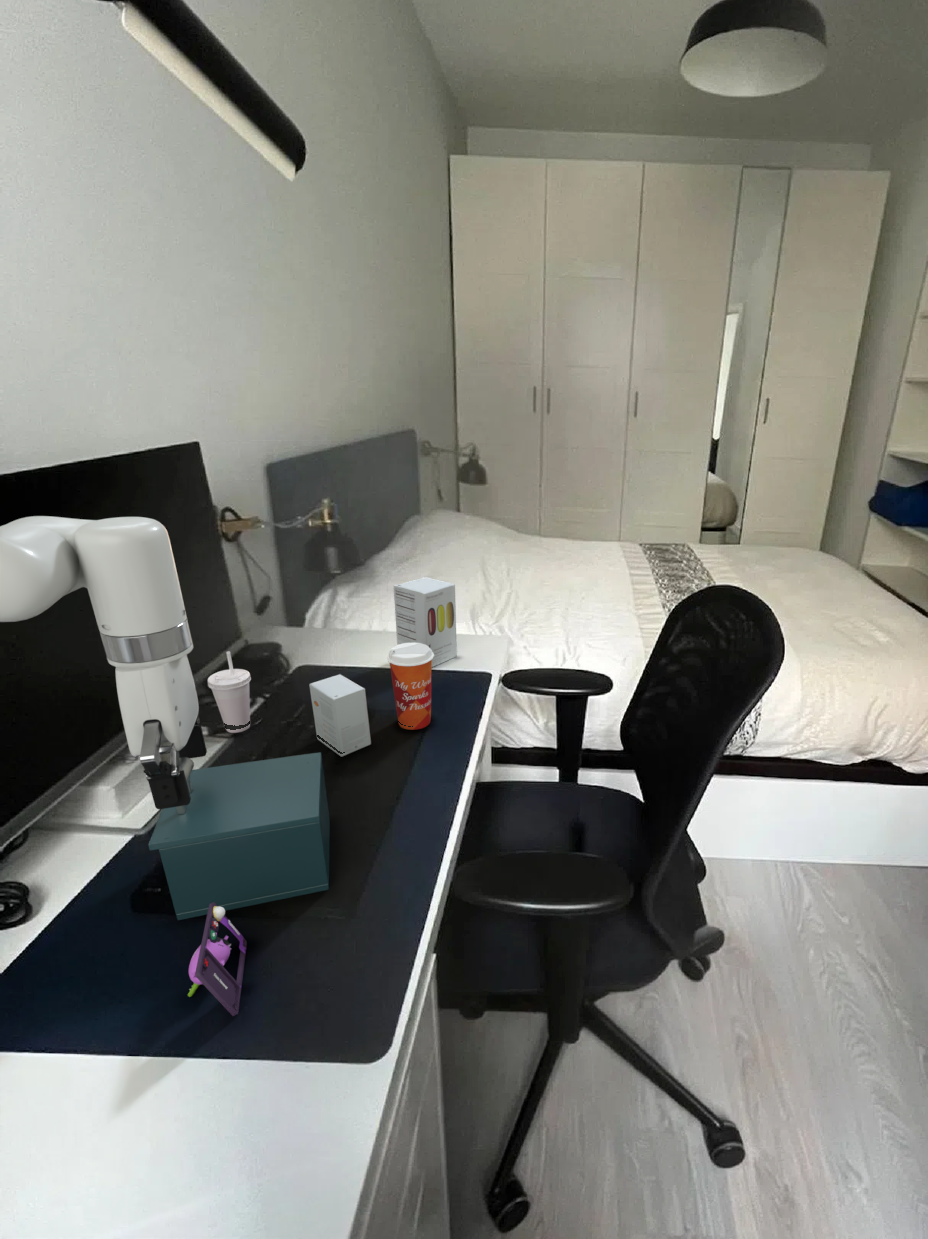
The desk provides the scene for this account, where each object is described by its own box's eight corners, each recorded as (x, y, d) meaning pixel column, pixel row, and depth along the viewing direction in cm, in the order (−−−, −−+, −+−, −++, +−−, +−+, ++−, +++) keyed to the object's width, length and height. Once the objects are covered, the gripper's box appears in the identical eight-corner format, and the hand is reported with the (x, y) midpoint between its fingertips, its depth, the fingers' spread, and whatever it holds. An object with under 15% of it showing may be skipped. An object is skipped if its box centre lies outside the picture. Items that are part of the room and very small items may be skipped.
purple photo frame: (207, 969, 57) (220, 897, 64) (148, 998, 56) (168, 922, 63) (245, 1011, 60) (254, 938, 68) (190, 1040, 59) (205, 962, 67)
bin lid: (149, 850, 66) (138, 809, 64) (178, 777, 78) (169, 740, 76) (319, 821, 71) (314, 782, 69) (321, 757, 83) (316, 722, 81)
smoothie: (261, 730, 107) (249, 655, 102) (219, 740, 104) (204, 663, 99) (255, 714, 112) (242, 642, 107) (214, 723, 109) (199, 649, 104)
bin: (177, 921, 70) (158, 849, 66) (200, 840, 82) (185, 776, 78) (329, 890, 75) (319, 822, 71) (329, 818, 87) (321, 757, 83)
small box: (371, 745, 104) (366, 688, 100) (340, 758, 101) (333, 699, 97) (346, 727, 109) (340, 673, 105) (316, 739, 105) (308, 683, 101)
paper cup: (396, 736, 107) (390, 661, 102) (389, 715, 114) (383, 644, 109) (441, 728, 110) (438, 655, 105) (432, 708, 117) (428, 638, 112)
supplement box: (427, 670, 132) (423, 594, 126) (396, 659, 137) (391, 585, 130) (458, 656, 140) (456, 583, 133) (428, 646, 144) (424, 575, 138)
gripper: (129, 615, 71) (163, 745, 77) (75, 680, 56) (122, 835, 62) (204, 609, 73) (231, 736, 80) (171, 670, 58) (207, 820, 65)
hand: (183, 779), depth 71 cm, fingers open, 9 cm apart
